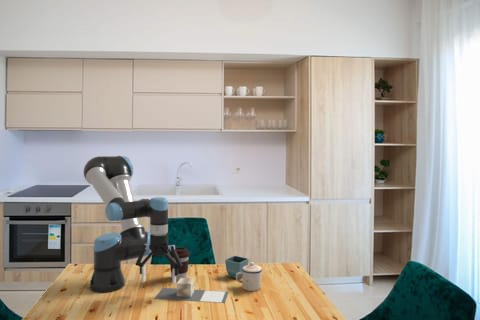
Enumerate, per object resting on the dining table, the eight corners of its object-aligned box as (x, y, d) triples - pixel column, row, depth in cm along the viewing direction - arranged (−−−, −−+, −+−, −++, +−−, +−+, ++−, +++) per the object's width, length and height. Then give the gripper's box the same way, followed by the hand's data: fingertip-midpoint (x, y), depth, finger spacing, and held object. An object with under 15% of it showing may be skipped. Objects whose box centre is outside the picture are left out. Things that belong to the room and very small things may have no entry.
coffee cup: (187, 283, 181) (188, 252, 180) (166, 283, 181) (166, 251, 181) (190, 276, 191) (191, 246, 190) (170, 275, 191) (171, 245, 191)
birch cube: (176, 297, 164) (176, 283, 164) (180, 291, 170) (180, 278, 170) (190, 297, 163) (190, 283, 163) (194, 292, 169) (194, 278, 169)
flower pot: (249, 276, 193) (249, 258, 192) (239, 281, 185) (239, 263, 185) (234, 272, 197) (234, 255, 197) (224, 277, 190) (224, 259, 189)
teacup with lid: (260, 283, 183) (260, 259, 182) (263, 291, 174) (263, 265, 173) (234, 284, 182) (235, 259, 181) (236, 291, 173) (236, 266, 172)
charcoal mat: (153, 300, 162) (153, 298, 162) (162, 289, 174) (162, 287, 174) (224, 304, 159) (224, 303, 159) (228, 293, 171) (228, 291, 170)
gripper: (127, 234, 164) (127, 283, 165) (185, 236, 161) (184, 287, 162) (134, 230, 172) (134, 277, 173) (189, 232, 169) (189, 280, 170)
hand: (158, 282), depth 167 cm, fingers open, 13 cm apart
